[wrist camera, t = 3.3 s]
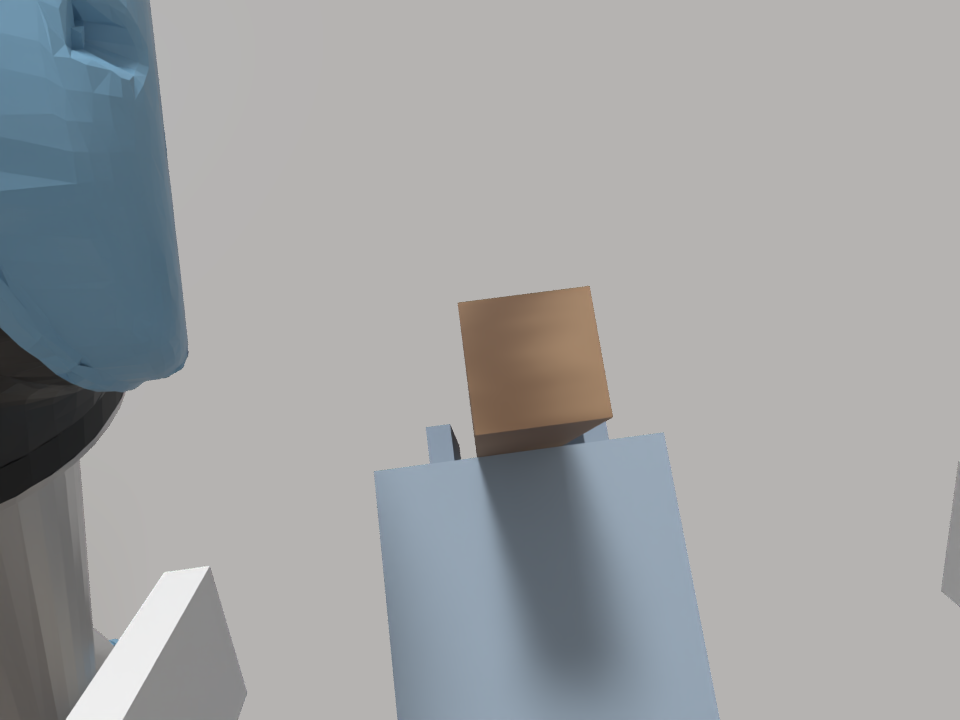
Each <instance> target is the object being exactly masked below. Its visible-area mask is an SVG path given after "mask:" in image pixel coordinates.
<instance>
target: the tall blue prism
mask: <svg viewBox="0 0 960 720" xmlns="http://www.w3.org/2000/svg"><path fill="white" fill-rule="evenodd" d="M426 431H427V440H428V449H429V458H430V464H425V465H418V466H410V467H403V468H395V469H388V470H380V471H374V477H375V487H376V498H377V508H378V518H379V529H380V539H381V550H382V560H383V571H384V581H385V592H386V603H387V612H388V623H389V633H390V644H391V654H392V665H393V676H394V686H395V697H396V707H397V717H398V720H720V719H719V714H718V708H717V703H716V698H715V694H714V688H713V683H712V678H711V673H710V668H709V662H708V657H707V652H706V647H705V642H704V637H703V631H702V626H701V622H700V616H699V611H698V606H697V601H696V595H695V590H694V585H693V580H692V575H691V570H690V565H689V560H688V555H687V549H686V544H685V539H684V535H683V529H682V524H681V519H680V514H679V509H678V503H677V498H676V493H675V488H674V483H673V478H672V472H671V467H670V462H669V457H668V452H667V447H666V442H665V436H664V433H656V434H649V435H642V436H634V437H626V438H619V439H612V440H609V438H608V433H607V427H606V421H605V422H603V423H602V424H600V425H598V426H596V427H595V428H593V429H591V430H589V431H588V432H586V433H584V434H582V435H581V436H579V437H577V438H575V439H574V440H572V441H570V442H568V443H567V444H565V445H563V446H559V447H552V448H544V449H537V450H529V451H522V452H514V453H507V454H500V455H492V456H485V457H477V458H470V459H463V460H461V457H460V448H459V444H458V442H457V439H456V437H455V435H454V432H453V430H452V428H451V426H450V424H448V425H440V426H432V427H426Z"/></svg>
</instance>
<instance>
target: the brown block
mask: <svg viewBox="0 0 960 720" xmlns="http://www.w3.org/2000/svg"><path fill="white" fill-rule="evenodd" d="M458 308H459V316H460V324H461V333H462V340H463V349H464V357H465V365H466V373H467V382H468V390H469V398H470V405H471V414H472V422H473V429H474V437H475V445H476V452H477V457H485V456H492V455H500V454H507V453H514V452H522V451H529V450H537V449H544V448H552V447H559V446H563V445H565V444H567V443H568V442H570V441H572V440H574V439H575V438H577V437H579V436H581V435H582V434H584V433H586V432H588V431H589V430H591V429H593V428H595V427H596V426H598V425H600V424H602V423H603V422H605V421H607V420H609V419H610V418H612V417H613V415H612V409H611V403H610V398H609V392H608V387H607V381H606V375H605V370H604V364H603V359H602V353H601V347H600V342H599V336H598V331H597V325H596V319H595V314H594V308H593V303H592V297H591V291H590V286H585V287H577V288H569V289H561V290H553V291H546V292H538V293H530V294H522V295H514V296H507V297H499V298H491V299H483V300H475V301H467V302H459V303H458Z"/></svg>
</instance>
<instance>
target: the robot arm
mask: <svg viewBox="0 0 960 720" xmlns="http://www.w3.org/2000/svg"><path fill="white" fill-rule="evenodd" d="M187 357H188V339H187V330H186V321H185V310H184V302H183V292H182V283H181V274H180V265H179V256H178V248H177V240H176V231H175V222H174V212H173V203H172V193H171V185H170V178H169V170H168V161H167V149H166V141H165V132H164V124H163V115H162V106H161V96H160V87H159V78H158V70H157V61H156V52H155V43H154V34H153V25H152V18H151V8H150V0H0V720H238V717H239V714H240V712H241V709H242V706H243V703H244V701H245V697H246V695H247V690H246V687H245V684H244V680H243V677H242V674H241V670H240V667H239V664H238V660H237V657H236V653H235V650H234V647H233V643H232V640H231V636H230V633H229V629H228V626H227V623H226V619H225V616H224V612H223V609H222V606H221V602H220V599H219V595H218V592H217V589H216V585H215V582H214V578H213V575H212V572H211V568H210V566H205V567H198V568H191V569H184V570H177V571H170V572H164V574H163V575H162V577H161V578H160V580H159V581H158V582H157V584H156V586H155V587H154V588H153V590H152V591H151V593H150V594H149V596H148V597H147V599H146V600H145V602H144V603H143V605H142V606H141V608H140V609H139V611H138V613H137V614H136V615H135V617H134V618H133V620H132V621H131V623H130V624H129V626H128V627H127V629H126V630H125V632H124V633H123V635H122V636H121V638H120V639H119V640H118V639H112V640H108V639H107V638H106V637H105V636H103V635H102V634H101V633H100V632H98V631H97V630H96V629H94V628H93V624H92V611H91V598H90V587H89V586H90V585H89V573H88V560H87V547H86V534H85V522H84V509H83V497H82V484H81V471H80V458H81V457H82V456H83V455H84V454H85V453H87V452H88V451H89V450H90V448H92V447H93V446H94V445H95V444H96V442H97V441H98V440H99V438H100V437H101V436H102V435H103V433H104V432H105V431H106V429H107V428H108V427H109V426H110V424H111V422H112V421H113V419H114V417H115V415H116V414H117V412H118V410H119V409H120V406H121V403H122V401H123V398H124V395H125V392H126V391H128V390H133V389H135V388H137V387H138V386H139V385H141V384H142V383H143V382H145V381H149V380H156V379H161V378H167V377H169V376H170V375H172V374H174V373H176V372H177V371H179V370H181V369H182V368H183V367H184V363H185V360H186V359H187ZM941 591H942V592H943V593H944V594H945V595H946V596H947V597H949V598H950V599H951V600H952V601H954V602H955V603H956V604H957V605H958V606H959V607H960V461H958V469H957V477H956V484H955V491H954V499H953V507H952V514H951V521H950V528H949V536H948V543H947V551H946V558H945V566H944V573H943V580H942V588H941Z"/></svg>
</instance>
